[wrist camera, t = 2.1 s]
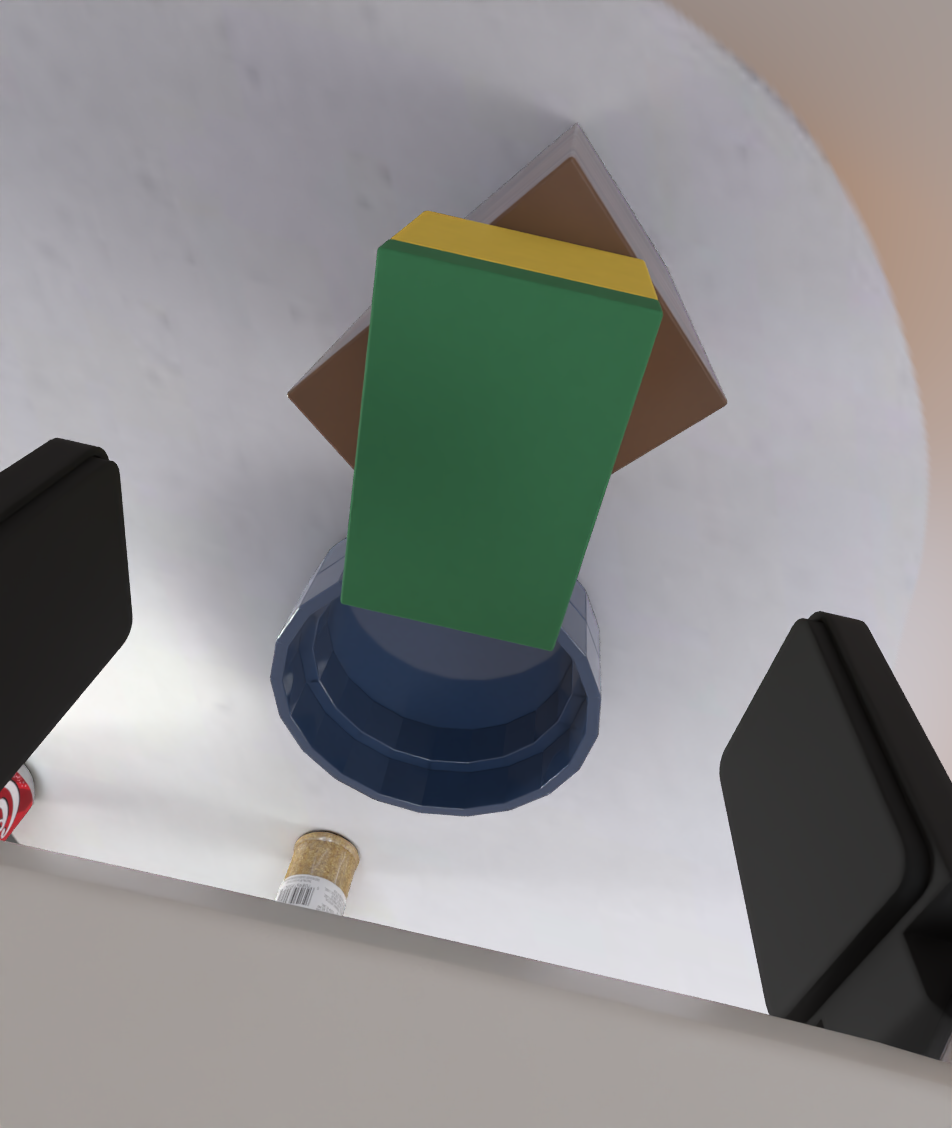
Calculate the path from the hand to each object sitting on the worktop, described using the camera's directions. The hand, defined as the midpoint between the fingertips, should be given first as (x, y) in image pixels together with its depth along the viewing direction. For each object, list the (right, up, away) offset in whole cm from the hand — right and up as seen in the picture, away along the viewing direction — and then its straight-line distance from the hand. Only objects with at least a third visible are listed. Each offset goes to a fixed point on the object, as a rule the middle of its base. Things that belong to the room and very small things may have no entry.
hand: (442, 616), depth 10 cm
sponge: (+1, +4, +6) cm, 8 cm away
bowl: (-1, -3, +28) cm, 28 cm away
